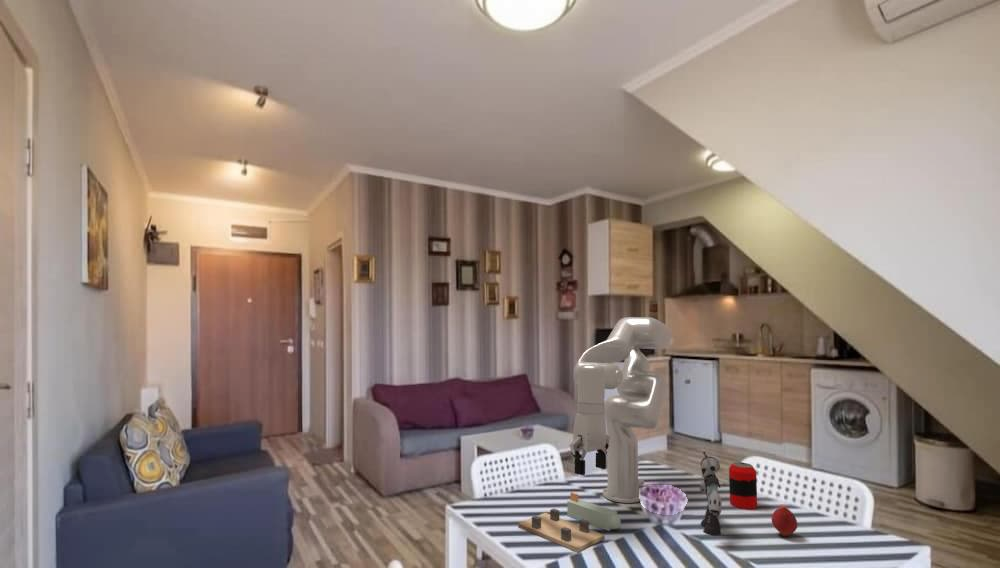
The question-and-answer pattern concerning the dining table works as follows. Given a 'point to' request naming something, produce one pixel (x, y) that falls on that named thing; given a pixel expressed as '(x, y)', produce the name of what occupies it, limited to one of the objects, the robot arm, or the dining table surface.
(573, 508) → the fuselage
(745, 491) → the soda can
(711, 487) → the robot
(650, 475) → the dining table surface
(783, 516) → the onion
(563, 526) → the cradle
